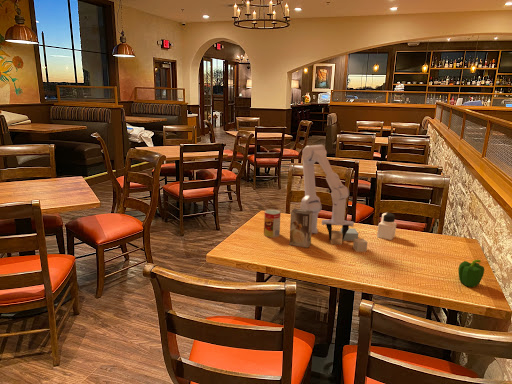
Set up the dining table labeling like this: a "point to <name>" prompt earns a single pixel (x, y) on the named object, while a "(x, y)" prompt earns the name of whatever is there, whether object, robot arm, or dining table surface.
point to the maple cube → (336, 237)
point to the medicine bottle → (387, 226)
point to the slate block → (351, 234)
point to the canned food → (272, 223)
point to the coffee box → (300, 227)
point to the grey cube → (360, 245)
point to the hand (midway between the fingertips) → (336, 239)
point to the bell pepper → (470, 273)
